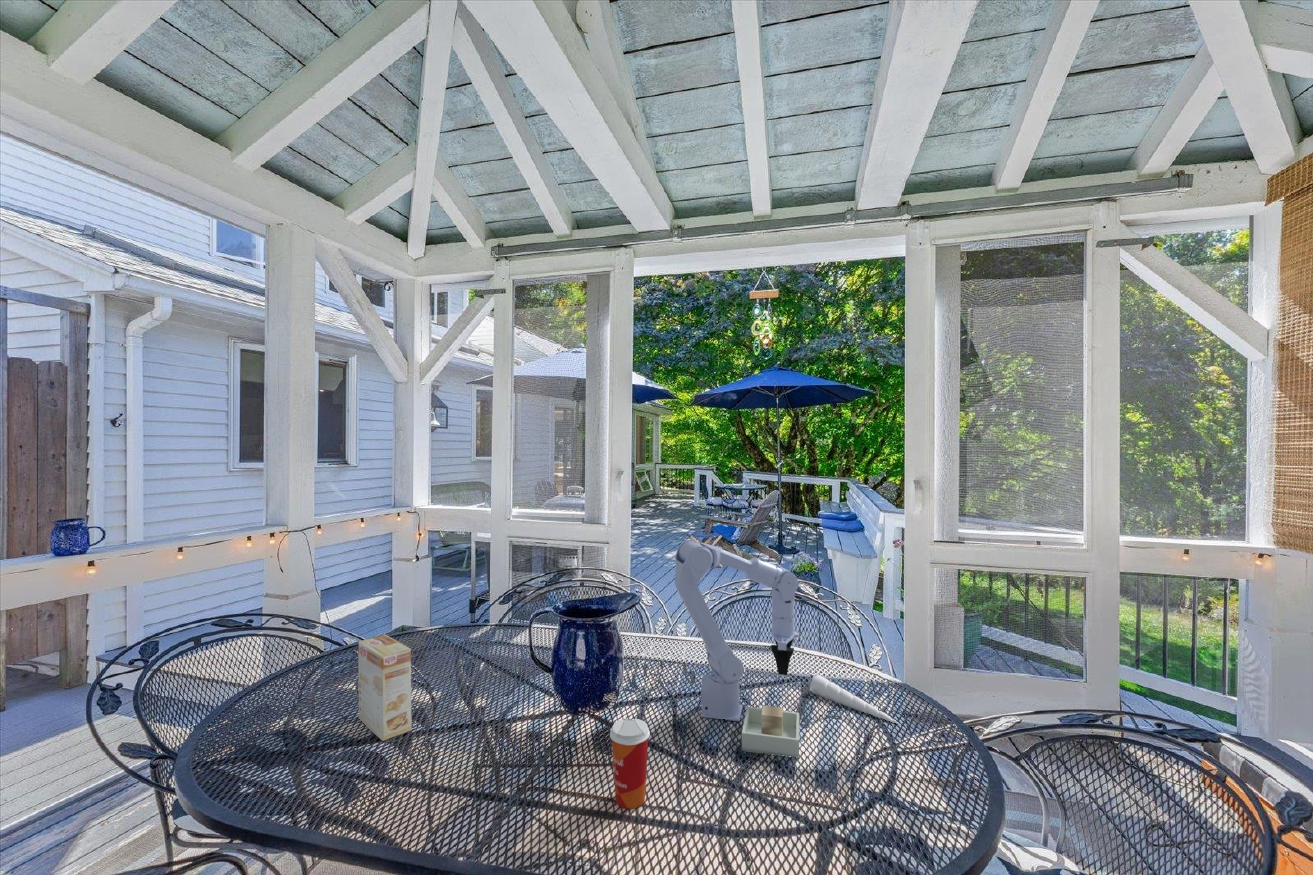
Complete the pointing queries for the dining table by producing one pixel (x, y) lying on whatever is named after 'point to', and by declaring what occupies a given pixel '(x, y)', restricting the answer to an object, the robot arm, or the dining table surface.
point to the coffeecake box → (384, 686)
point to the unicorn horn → (844, 697)
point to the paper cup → (630, 761)
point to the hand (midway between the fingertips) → (783, 667)
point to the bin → (770, 743)
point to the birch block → (772, 721)
